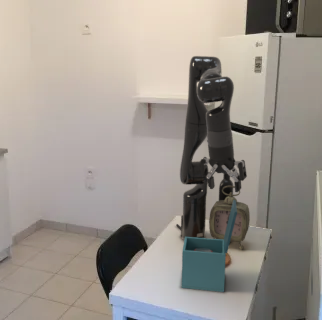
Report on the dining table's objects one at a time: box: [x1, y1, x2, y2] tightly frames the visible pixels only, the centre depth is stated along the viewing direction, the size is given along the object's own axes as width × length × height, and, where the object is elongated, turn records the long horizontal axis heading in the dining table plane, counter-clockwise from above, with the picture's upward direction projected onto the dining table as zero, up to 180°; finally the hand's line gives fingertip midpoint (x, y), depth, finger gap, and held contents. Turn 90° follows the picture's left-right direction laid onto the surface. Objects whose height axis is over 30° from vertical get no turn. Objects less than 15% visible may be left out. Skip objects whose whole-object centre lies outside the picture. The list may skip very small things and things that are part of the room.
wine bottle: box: [218, 173, 234, 201], centre depth 189 cm, size 6×6×30 cm
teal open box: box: [181, 237, 227, 293], centre depth 148 cm, size 14×12×13 cm
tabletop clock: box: [208, 185, 251, 250], centre depth 174 cm, size 14×9×25 cm, turn 65°
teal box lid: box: [224, 199, 237, 254], centre depth 143 cm, size 14×12×1 cm
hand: (224, 189), depth 140 cm, fingers open, 8 cm apart
